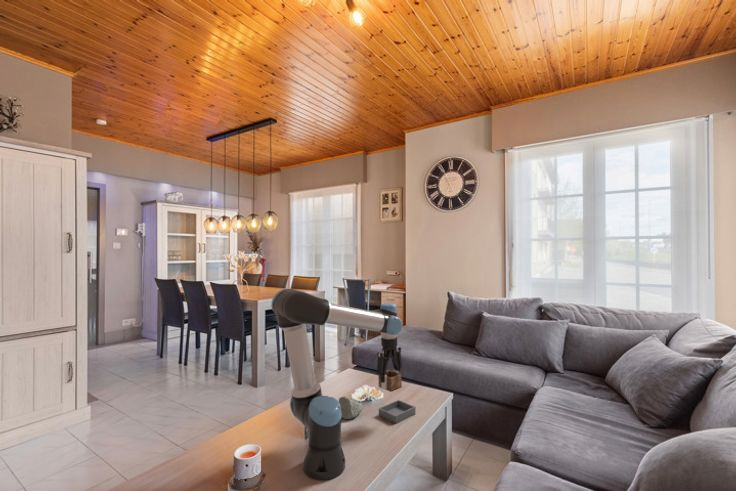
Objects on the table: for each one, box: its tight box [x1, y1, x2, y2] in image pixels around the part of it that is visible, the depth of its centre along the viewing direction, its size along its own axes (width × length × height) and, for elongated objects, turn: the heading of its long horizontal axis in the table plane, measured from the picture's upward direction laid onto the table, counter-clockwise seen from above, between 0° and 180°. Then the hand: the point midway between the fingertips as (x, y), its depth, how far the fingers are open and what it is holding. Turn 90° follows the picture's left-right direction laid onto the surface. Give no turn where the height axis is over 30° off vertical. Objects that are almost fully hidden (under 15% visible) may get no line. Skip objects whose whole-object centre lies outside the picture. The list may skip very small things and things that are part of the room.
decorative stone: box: [338, 396, 364, 420], centre depth 165 cm, size 13×11×10 cm
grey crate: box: [378, 399, 417, 425], centre depth 166 cm, size 14×11×4 cm
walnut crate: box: [377, 369, 403, 393], centre depth 159 cm, size 7×8×6 cm
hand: (390, 386), depth 159 cm, fingers closed on walnut crate, 7 cm apart
